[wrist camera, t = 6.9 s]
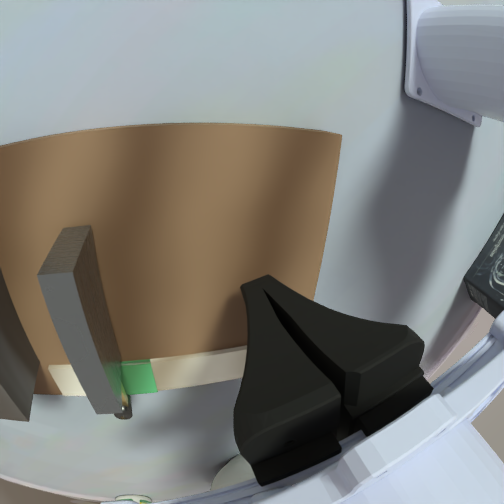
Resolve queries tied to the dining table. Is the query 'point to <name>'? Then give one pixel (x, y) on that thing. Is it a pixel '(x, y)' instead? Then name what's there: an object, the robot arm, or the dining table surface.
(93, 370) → the pad
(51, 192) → the board
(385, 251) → the dining table surface
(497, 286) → the small box
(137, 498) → the supplement bottle
